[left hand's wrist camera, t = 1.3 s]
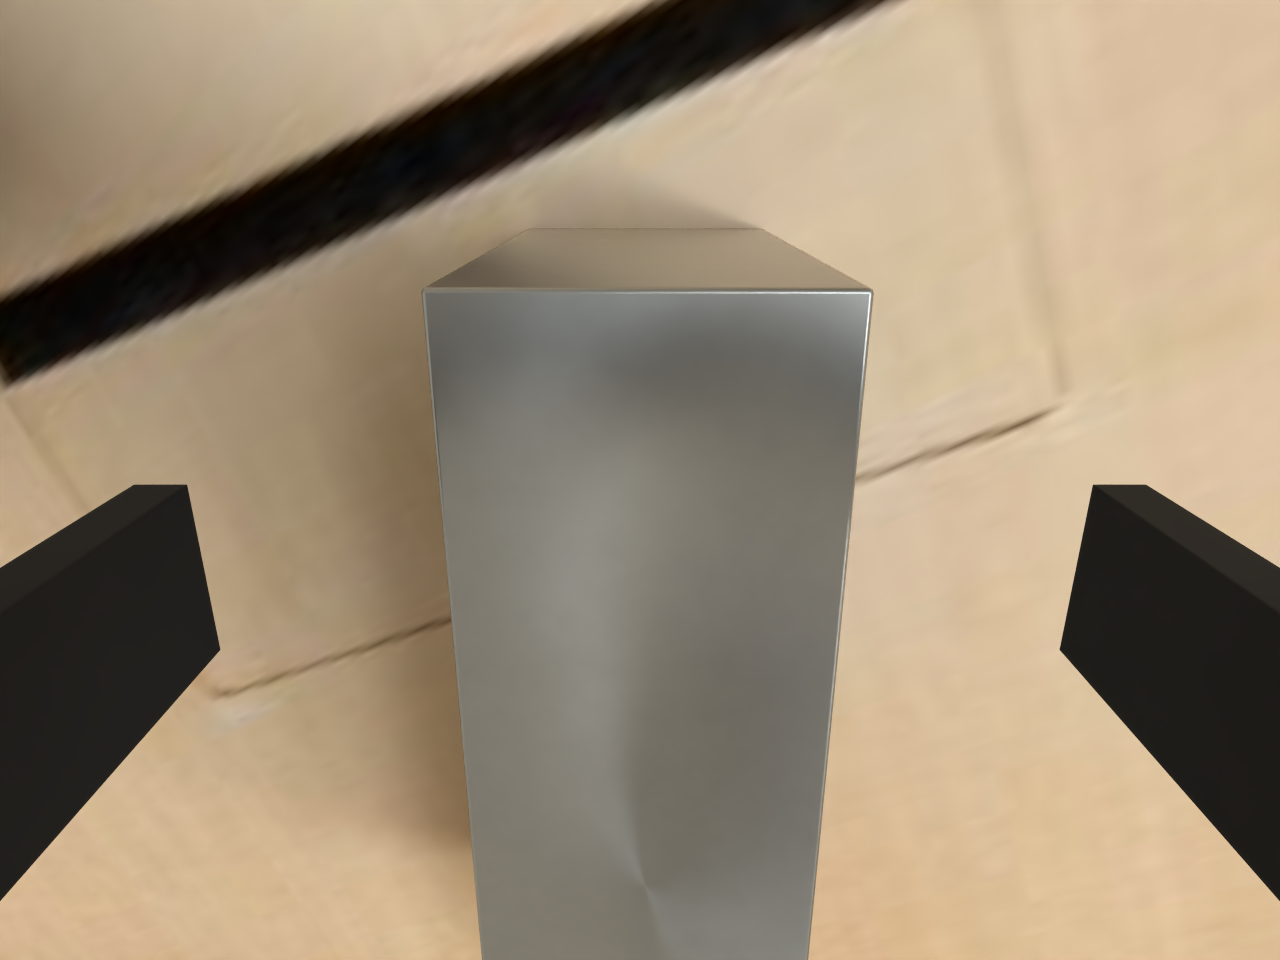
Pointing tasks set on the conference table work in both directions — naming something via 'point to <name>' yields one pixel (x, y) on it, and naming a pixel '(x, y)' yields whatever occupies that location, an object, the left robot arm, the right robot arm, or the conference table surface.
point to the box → (646, 581)
